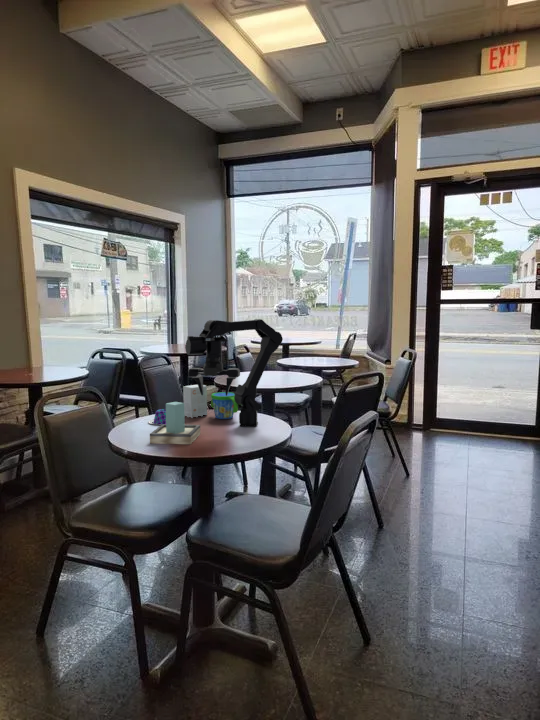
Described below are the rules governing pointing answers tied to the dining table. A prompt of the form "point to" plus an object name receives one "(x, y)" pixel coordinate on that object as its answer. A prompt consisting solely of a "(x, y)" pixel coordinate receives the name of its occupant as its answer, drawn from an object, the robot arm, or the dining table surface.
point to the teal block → (175, 417)
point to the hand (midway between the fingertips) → (214, 395)
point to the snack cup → (224, 405)
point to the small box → (195, 401)
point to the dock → (175, 435)
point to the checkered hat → (159, 417)
